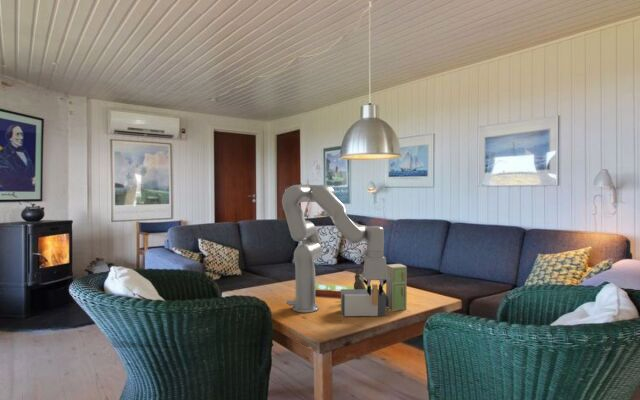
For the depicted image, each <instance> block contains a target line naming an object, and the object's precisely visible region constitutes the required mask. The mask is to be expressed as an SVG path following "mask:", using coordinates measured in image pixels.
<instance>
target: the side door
mask: <svg viewBox="0 0 640 400" xmlns="http://www.w3.org/2000/svg"><path fill="white" fill-rule="evenodd" d="M371 289H372V295H345V300H344V315H345V316H344V317H379V316H378V289H379V284H376V283H375V284H374V283H372V284H371Z"/></svg>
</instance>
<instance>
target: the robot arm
mask: <svg viewBox="0 0 640 400" xmlns="http://www.w3.org/2000/svg"><path fill="white" fill-rule="evenodd" d="M311 202H312V203H316V204H317V205H318V206H319V207H320V208H321V209H322V210H323V211H324V212H325V213H326V214H327V215H328V216H329V218H330V219H331V221H332V223H333V224H334V226H335V228H336V230H337V231H338V232H339V233H340V234H341V235H342V236H343V237H344V239H346V240H347V241H348V243H349V242H350V243H352V244H359V243H361V242H365V241H366V250H365V251H363V254H362V255H365V258H364V261H363V272H362V273H361V274H360V278H359V279H360V280H361V281H363V283H364V285H365V286H367V287H366V289H367V293H369V295H371V289H372V285H371V281H379V284H378V289H379V295H381V293H383V290H384V285H386V282H387V281H389V280H390V279H391V278H390V277H389V275H388V274H387V265H388V264H387V259H386V256H385V255H384V254H385V252H384V250H385V249H384V248H385V247H384V246H385V241H384V240H385V239H384V237H385V233H384V232H385V229H384V228H383V226H378V225H373V226H371V225H363V224H357V225H356V224H355V223H354V222H353V221H352V220H351V219H350V217H349V216H348V215H347V211H346V206H345V204H343V202H342V201H341V200H339V198H338V197H337V196H336V191H335V190H334V188H333V187H332V186H331V185H329V184H294V185H291V186H289V187H288V188H287V189H286V190H285V191H284V192H283V194H282V198H281V204H282V209H283V212H284V215H285V217H286V222H287V226H288V231H289V234H290V237H291V239H293V241H294V242H301V243H300V244H299V245H298V246H297V247H296V248H295V249H294V252H293V259H294V266H295V267H294V270H295V272H294V273H295V298H294V299H287V300H286V301H285V302H286V303H285V304H286V305H288V306H292V310H293V311H295V312H296V313H306V314H308V313H312V312H317V311H318V310H319V305H318V304H317V303H316V267H315V263H314V261H316V260H318V259H320V257H321V256H322V252H323V250H322V249H323V248H322V245H321V241H320V237H319V234H318V230H317V228H316V225H315V224H314V223H313V222H312V221H310V220H306V219H305V215H304V212H303V210H302V207H301V206H300V203H311Z"/></svg>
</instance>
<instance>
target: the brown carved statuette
mask: <svg viewBox="0 0 640 400" xmlns="http://www.w3.org/2000/svg"><path fill="white" fill-rule="evenodd" d="M360 276H361V271H360V269H355V275H354V283H353V289H367V287H366V284H365V283H364V282H363V281H361V280H360V279H359V278H360Z"/></svg>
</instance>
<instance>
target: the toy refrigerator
mask: <svg viewBox="0 0 640 400" xmlns="http://www.w3.org/2000/svg"><path fill="white" fill-rule="evenodd" d="M386 265H387V274H388V275H389V277H390V278H391V279H390V280H389V281H387V282H386V283H385V293H386V296H388V301H389V304H388V307H386V309H388V310H389V311H392V312H394V311H395V312H396V311H404V310H407V305H408V304H407V300H408V299H407V297H408V296H407V293H408V292H407V289H408V288H407V285H408V284H407V281H408V280H407V278H408V277H407V276H408V273H407V271H408V270H407V265H404V264H402V263H393V264H392V263H391V264H386Z"/></svg>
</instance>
